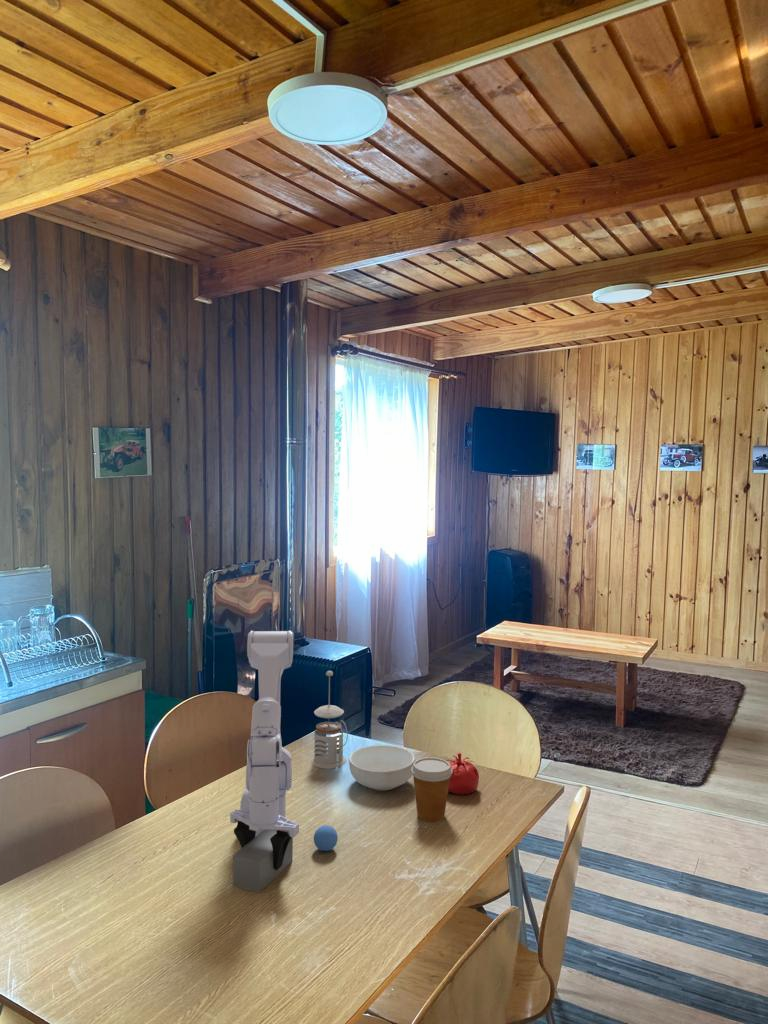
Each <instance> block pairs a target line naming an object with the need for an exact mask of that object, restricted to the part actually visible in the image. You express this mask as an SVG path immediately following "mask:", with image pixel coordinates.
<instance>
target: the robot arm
mask: <svg viewBox="0 0 768 1024" xmlns="http://www.w3.org/2000/svg"><path fill="white" fill-rule="evenodd" d="M246 643H247V644H246V650H247V652H246V653H247V655H246V656H247V658H248V664H250V667H251V668H253V669H255V670H258V671H257V672H258V673H257V674H258V700H257V701H256V702H254V704H253V705H252V709H251V710H252V711H251V712H252V713H251V726H250V727H251V728H250V738H248V740H247V744H246V768H245V769H246V771H245V790H244V791H243V793H242V795H241V800H240V809H237V808H236V809H234V810H233V811H231V812H229V816H230V818H229V820H230V823H231V824H236V823H237V824H236V827H235V828H233V834H234V835H235V836H236V838H237V841H238V842H239V844H240V846H241V848H243V847H244V846H245V845H246V844H247V843H249V842H250V841H251V840H252V839H253V838H255V837H256V836H257V835H258V834H259V833H261V832H262V831H263V830H273V831H277V834H275V835H274V836H272V837H271V838H270V841H271V844H272V848H273V866H274V869H275V870H278V869H279V868H280V867H281V866H282V864H283V859H284V855H285V852H286V849H287V846H288V844H289V842H290V839H291V837H293V838H295V837H296V836H297V835H298V834H299V833H300V831H299V830H300V823H298V822H295V821H293V820H291V819H288V818H286V809H287V808H286V807H287V806H286V805H287V804H286V803H287V802H286V801H287V800H286V798H287V797H286V794H287V791H290V790H291V788H292V783H293V782H292V780H293V779H292V778H293V777H292V776H293V763H292V755H291V753H290V751H288V750H287V749H286V748H285V747H283V745H282V743H283V742H282V735H281V717H282V714H281V713H282V706H281V680H282V675H283V673H284V670H286V669H289V668H291V667H292V663H293V657H294V633H293V632H292V630H274V631H273V630H266V631H265V630H263V631H262V630H261V631H260V630H257V631H255V630H250V632H248V634H247V642H246Z"/></svg>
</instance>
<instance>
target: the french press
mask: <svg viewBox="0 0 768 1024" xmlns="http://www.w3.org/2000/svg"><path fill="white" fill-rule="evenodd" d="M333 675H334V672H333V671H332V670H327V671H326V673H325V676H327V677H328V704H326V705H322V706H319V707H318V708H316V709H315V710H314V711H313V713H314V715H315V716H316V717H318V718H321V719H322V718H323V719H335V718H339V717H341V716H342V715H343V714H344V713H345V711H344V709H343V708H340V707H339V706H337V705H332V704H330V703H331V701H330V697H331V696H330V695H331V694H330V693H331V684H330V683H331V676H333ZM342 723H343V725H344V727H345V731H346V741H345V743H344V730H343V729H342V728H343V725H342ZM315 729H316V730H314V744H313V745H314V747H313V748H314V752H313V754H314V755H313V757H312V758H311V760H310V764H311V765H312V766H314V767H316V768H321V769H336V768H339V767H342V766H345V764H347V759H346V757H345V756H344V749H343V748H344V746H345V745H346V744H347V742H348V737H349V733H348V728H347V725H346V723H345V722H344V720H342V719H340V720H339V721H334V722H333V721H324V722H320V723H317V724H316V725H315ZM336 734H338V735H336ZM328 735H329V736H328ZM331 735H336V736H331Z"/></svg>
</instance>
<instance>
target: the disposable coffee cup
mask: <svg viewBox="0 0 768 1024" xmlns="http://www.w3.org/2000/svg"><path fill="white" fill-rule="evenodd" d="M411 772H412V776H413V786H414V796H415V806H416V807H415V808H416V815H417V817H418V818H419V819H420V820H423V821H427V822H438V821H441V820H443V819H444V818H445V815H446V809H447V801H448V793H449V791H448V788H449V781H450V777H451V774H452V769H451V766H450V761H446V759H443V758H441V757H440V758H438V757H422V758H418V759H415V762H414V763H413V766H412V768H411Z"/></svg>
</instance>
